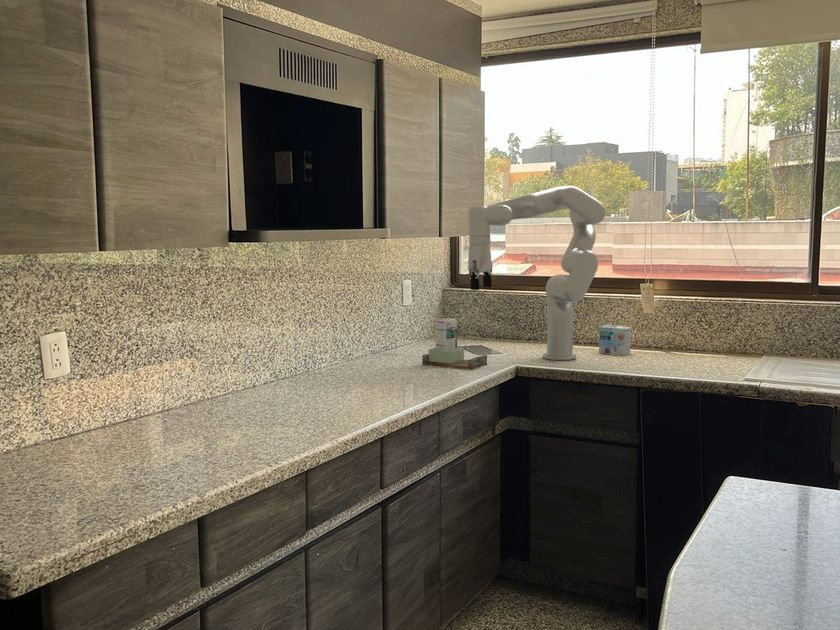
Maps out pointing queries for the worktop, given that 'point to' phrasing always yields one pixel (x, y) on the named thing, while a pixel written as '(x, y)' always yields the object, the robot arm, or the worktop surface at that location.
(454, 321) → the syrup box
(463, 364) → the grey brown tray
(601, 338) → the light bulb box
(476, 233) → the robot arm
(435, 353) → the collar
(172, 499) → the worktop surface
